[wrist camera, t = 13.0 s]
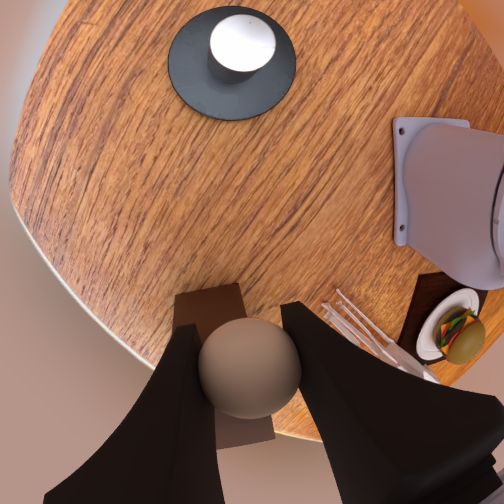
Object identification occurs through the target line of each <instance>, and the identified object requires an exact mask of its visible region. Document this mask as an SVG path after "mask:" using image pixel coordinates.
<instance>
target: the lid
mask: <svg viewBox="0 0 504 504" xmlns="http://www.w3.org/2000/svg"><path fill="white" fill-rule="evenodd" d="M295 71H296V55H295V51H294V47H293V45H292V42H291V40H290V38H289V36H288V35H287V33H286V32H285V31H284V29H283V28H282V27H281V26H280V25H279V24H278V23H277V22H276V21H275V20H273V19H272V18H271V17H269V16H267V15H266V14H264V13H262V12H259V11H257V10H254V9H251V8H247V7H241V6H223V7H217V8H213V9H210V10H207V11H205V12H202V13H200V14H199V15H197V16H195V17H193V18H192V19H191V20H190V21H188V22H187V23H186V24H185V25H184V26H183V27H182V28H181V29H180V31H179V32H178V33H177V35H176V36H175V38H174V40H173V42H172V44H171V47H170V50H169V55H168V72H169V77H170V80H171V83H172V85H173V87H174V89H175V91H176V92H177V94H178V95H179V96H180V98H181V99H182V100H183V101H184V102H185V103H186V104H187V105H188V106H189V107H191V108H192V109H193V110H195V111H197V112H199V113H200V114H202V115H205V116H207V117H210V118H214V119H218V120H225V121H237V120H245V119H250V118H253V117H256V116H259V115H261V114H263V113H265V112H267V111H268V110H270V109H272V108H273V107H274V106H275V105H277V104H278V103H279V102H280V101H281V100H282V99H283V98H284V96H285V95H286V94H287V92H288V91H289V89H290V87H291V85H292V82H293V79H294V76H295Z"/></svg>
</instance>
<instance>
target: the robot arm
mask: <svg viewBox="0 0 504 504" xmlns="http://www.w3.org/2000/svg"><path fill="white" fill-rule="evenodd" d="M400 128H401V134H399V129H400ZM393 136H394V157H395V225H394V243H395V244H396V245H397V246H404V245H408V246H410V247H411V248H412V249H414V250H415V251H417V252H418V253H419V254H421V255H422V256H423V257H425V258H426V259H427V260H429V261H430V262H431V263H433V264H434V265H435V266H437V267H438V268H439V269H441V270H442V271H443V272H445V273H446V274H447V275H449V276H450V277H451V278H453V279H454V280H456V281H458V282H459V283H461V284H464V285H466V286H469V287H472V288H476V289H481V290H495V289H500V288H503V287H504V135H501V134H497V133H492V132H487V131H482V130H477V129H471V128H470V124H469V122H468V120H464V119H451V118H431V117H396V118H394V120H393ZM401 225H402V228H401V229H399V228H400V226H401ZM280 308H281V316H282V324H283V330H284V331H285V332H287V334H288V335H289V336H290V337H291V338H292V340H293V342H294V344H295V346H296V348H297V351H298V354H299V357H300V362H301V367H302V376H301V380H300V384H299V389H300V392H301V394H302V396H303V398H304V400H305V402H306V405H307V407H308V409H309V411H310V413H311V415H312V418H313V420H314V422H315V424H316V426H317V428H318V431H319V433H320V436H321V438H322V441H323V444H324V447H325V450H326V452H327V455H328V458H329V461H330V464H331V468H332V471H333V474H334V477H335V480H336V483H337V487H338V490H339V493H340V496H341V500H342V503H343V504H504V468H503V469H502V470H501V471H500V472H498V473H496V472H495V470H494V468H493V467H492V466H493V465H494V464H495V463H496V460H495V458H494V457H493V455H492V454H491V453H492V452H493V450H494V449H495V448H496V447H497V446H498V445H499V444H500V443H501V441H502V440H503V439H504V406H503V405H502V403H501V402H500V401H499V400H498V399H497V398H496V397H495V396H492V395H486V394H480V393H475V392H469V391H463V390H459V389H455V388H451V387H448V386H444V385H441V384H437V383H434V382H431V381H428V380H426V379H423V378H420V377H418V376H415V375H413V374H410V373H408V372H405V371H403V370H400V369H398V368H396V367H394V366H392V365H390V364H388V363H386V362H384V361H382V360H380V359H378V358H376V357H375V356H373V355H371V354H370V353H368V352H366V351H365V350H363V349H362V348H360V347H358V346H357V345H355V344H354V343H352V342H351V341H349V340H348V339H346V338H345V337H344V336H342V335H341V334H340V333H338V332H337V331H336V330H334V329H333V328H331V327H330V326H329V325H328V324H326V323H325V322H324V321H323V320H321V319H320V318H319V317H318V316H317V315H315V314H314V313H313V312H312V311H311V310H309V309H308V308H307V307H306V306H305V305H304V304H303V303H301V302H300V301H296V302H292V303H288V304H283V305H280ZM202 346H203V345H202V342H201V339H200V336H199V333H198V330H197V327H196V324H195V323H193V324H188V325H183V326H177V327H176V328H175V330H174V332H173V334H172V336H171V338H170V341H169V343H168V345H167V347H166V349H165V351H164V353H163V355H162V357H161V359H160V361H159V363H158V365H157V367H156V368H155V370H154V372H153V374H152V376H151V378H150V380H149V381H148V383H147V385H146V386H145V388H144V390H143V391H142V393H141V395H140V396H139V398H138V399H137V401H136V402H135V404H134V405H133V407H132V409H131V410H130V411H129V413H128V414H127V416H126V417H125V418H124V420H123V421H122V422H121V424H120V425H119V426H118V427H117V429H116V430H115V431H114V432H113V433H112V434H111V436H110V437H109V438H108V439H107V440H106V441H105V442H104V444H103V445H102V446H101V447H100V448H99V449H98V450H97V451H96V452H95V453H94V454H93V455H92V456H91V457H90V458H89V459H88V460H87V461H86V462H85V463H84V464H83V465H82V466H81V467H80V468H79V469H77V470H76V471H75V472H74V473H72V474H71V475H70V476H69V477H68V478H66V479H65V480H64V481H62V482H61V483H60V484H58V485H57V486H56V487H54V488H53V489H52V490H50V491H49V492H47V493H46V494H45V496H44V500H43V504H225V501H224V496H223V491H222V486H221V481H220V475H219V469H218V463H217V453H216V432H215V406H214V405H213V404H212V403H211V402H210V401H209V400H208V398H207V397H206V396H205V394H204V392H203V390H202V387H201V383H200V378H199V371H198V357H199V354H200V350H201V348H202Z"/></svg>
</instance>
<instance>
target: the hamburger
mask: <svg viewBox="0 0 504 504" xmlns="http://www.w3.org/2000/svg"><path fill="white" fill-rule="evenodd" d="M488 291H489V290H481V289H476V288H472V287H469V286H466V285H464V284H461V283H459V282H458V281H456V280H454V279H453V278H451V277H450V276H449V275H447V274H446V273H445V272H440V273H432V274H424V275H419V277H418V281H417V284H416V288H415V291H414V295H413V298H412V301H411V305H410V308H409V311H408V314H407V317H406V320H405V323H404V326H403V329H402V332H401V335H400V338H399V340H398V343H397V345H398V346H399V347H401V348H402V349H403V350H404V351H406V352H407V353H408V354H409V355H411V356H412V357H413V358H414V359H416V360H417V361H418V362H419V363H420V364H421V365H422V366H424V365H425V364H426V365H427V366H428V365H431V364H434V363H437V362H440V361H442V360H445V359H447V361H450V362H451V363H453V364H457V365H461V364H465V363H467V362H469V361H471V360H472V359H473V358H475V357H476V356H477V354H478V353H479V352H480V351H481V349H482V347H483V344H484V341H485V328H484V325H483V324H482V322H481V321H480V320H479V318H478V316H479V314H480V311H481V309H482V306H483V304H484V301H485V299H486V296H487V293H488Z"/></svg>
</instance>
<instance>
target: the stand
mask: <svg viewBox="0 0 504 504" xmlns="http://www.w3.org/2000/svg"><path fill="white" fill-rule="evenodd" d="M241 318H247V315H246V311H245V307H244V303H243V299H242V295H241V291H240V287H239V283H235V284H230V285H225V286H220V287H215V288H210V289H205V290H200V291H195V292H190V293H184V294H179V295H175V304H174V315H173V327H172V334H173V332H174V330H175V328H176V327H177V326H183V325H188V324H193V323H195V324H196V327H197V330H198V333H199V336H200V339H201V342H202V345H203V344H204V342H205V341H206V339H207V338H208V337H209V336H210V335H211V334H212V333H213V332H214V331H215V330H216V329H217V328H219V327H220V326H222V325H223V324H225V323H227V322H230V321H233V320H236V319H241ZM215 432H216V450H217V449H224V448H231V447H236V446H242V445H247V444H253V443H258V442H263V441H268V440H272V439H275V433H274V428H273V422H272V417H271V415H269V416H266V417H262V418H257V419H242V418H237V417H233V416H230V415H228V414H226V413H224V412H222V411H220V410H219V409H218V408H216V407H215Z"/></svg>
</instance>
